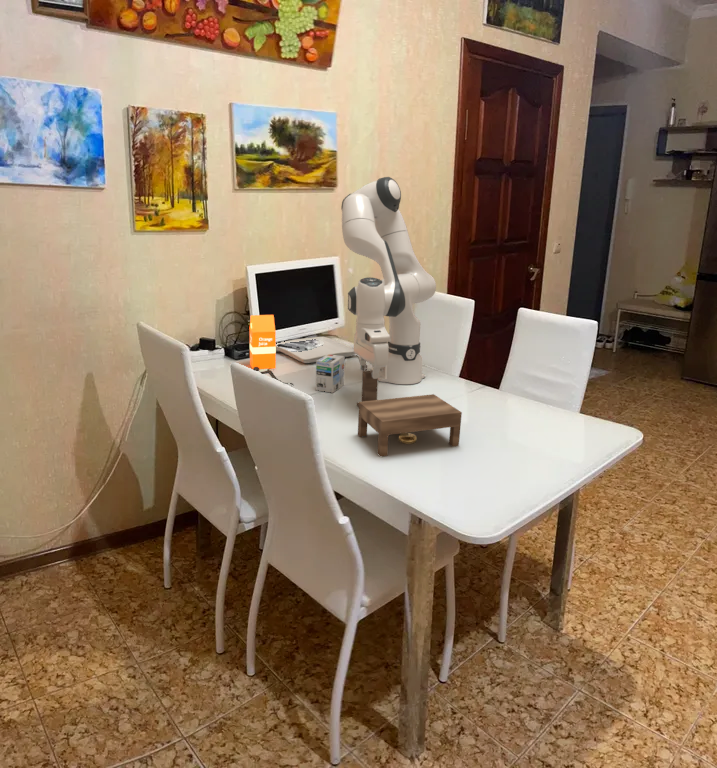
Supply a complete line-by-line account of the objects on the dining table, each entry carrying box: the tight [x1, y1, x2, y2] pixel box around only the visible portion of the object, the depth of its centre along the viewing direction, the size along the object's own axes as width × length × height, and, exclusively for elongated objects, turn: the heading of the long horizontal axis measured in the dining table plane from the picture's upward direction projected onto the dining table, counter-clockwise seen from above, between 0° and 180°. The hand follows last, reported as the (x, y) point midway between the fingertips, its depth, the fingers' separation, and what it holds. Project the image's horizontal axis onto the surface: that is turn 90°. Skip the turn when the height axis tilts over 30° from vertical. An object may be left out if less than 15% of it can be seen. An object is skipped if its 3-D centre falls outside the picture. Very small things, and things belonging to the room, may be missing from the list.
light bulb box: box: [315, 354, 346, 393], centre depth 222 cm, size 11×7×11 cm, turn 160°
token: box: [398, 432, 417, 445], centre depth 181 cm, size 5×5×2 cm
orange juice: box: [248, 314, 277, 370], centre depth 243 cm, size 8×9×20 cm
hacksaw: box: [252, 367, 294, 386], centre depth 233 cm, size 24×10×2 cm, turn 20°
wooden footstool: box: [357, 393, 463, 457], centre depth 179 cm, size 16×24×10 cm, turn 112°
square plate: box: [276, 336, 356, 364], centre depth 265 cm, size 27×27×4 cm
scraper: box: [356, 370, 379, 408], centre depth 195 cm, size 24×7×12 cm, turn 22°
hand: (369, 374), depth 202 cm, fingers open, 8 cm apart
